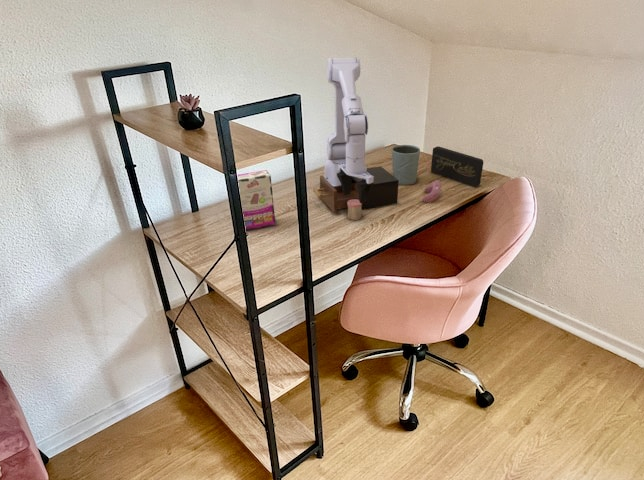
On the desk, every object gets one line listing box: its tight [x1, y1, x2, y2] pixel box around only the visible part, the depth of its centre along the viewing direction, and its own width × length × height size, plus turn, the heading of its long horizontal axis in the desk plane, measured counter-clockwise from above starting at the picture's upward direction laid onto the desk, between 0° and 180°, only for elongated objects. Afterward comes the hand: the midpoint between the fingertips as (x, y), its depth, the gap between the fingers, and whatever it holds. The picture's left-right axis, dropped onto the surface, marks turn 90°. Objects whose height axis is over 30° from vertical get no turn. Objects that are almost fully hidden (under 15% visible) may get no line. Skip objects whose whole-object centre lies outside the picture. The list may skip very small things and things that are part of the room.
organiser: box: [351, 165, 399, 211], centre depth 167 cm, size 13×14×8 cm
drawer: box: [312, 175, 359, 215], centre depth 163 cm, size 16×14×8 cm
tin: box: [347, 199, 362, 221], centre depth 155 cm, size 5×5×5 cm
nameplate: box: [430, 145, 484, 188], centre depth 181 cm, size 21×2×10 cm, turn 43°
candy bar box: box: [237, 169, 276, 231], centre depth 148 cm, size 11×5×16 cm, turn 114°
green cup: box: [391, 144, 421, 186], centre depth 179 cm, size 10×10×12 cm
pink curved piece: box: [422, 179, 443, 203], centre depth 168 cm, size 10×5×7 cm, turn 168°
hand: (354, 198), depth 153 cm, fingers open, 7 cm apart
